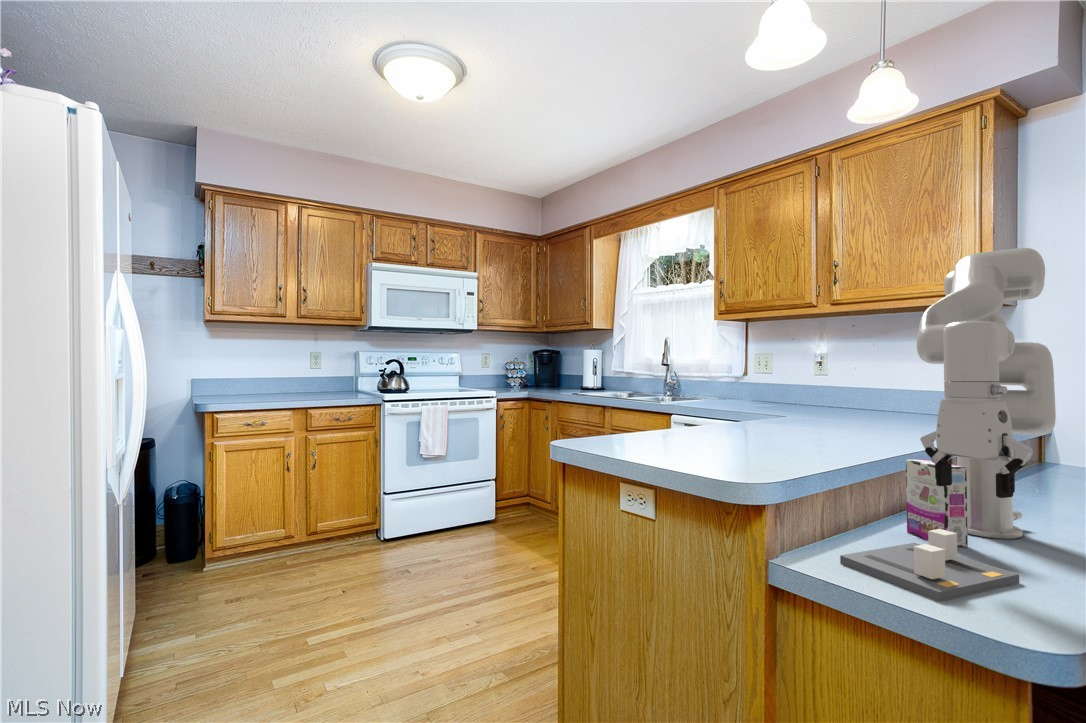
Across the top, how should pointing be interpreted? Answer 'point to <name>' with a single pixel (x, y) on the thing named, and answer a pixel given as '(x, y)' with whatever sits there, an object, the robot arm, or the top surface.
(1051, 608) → the top surface
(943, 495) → the candy bar box
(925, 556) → the block
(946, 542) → the block
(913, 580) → the panel
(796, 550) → the top surface
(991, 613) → the top surface
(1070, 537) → the top surface
